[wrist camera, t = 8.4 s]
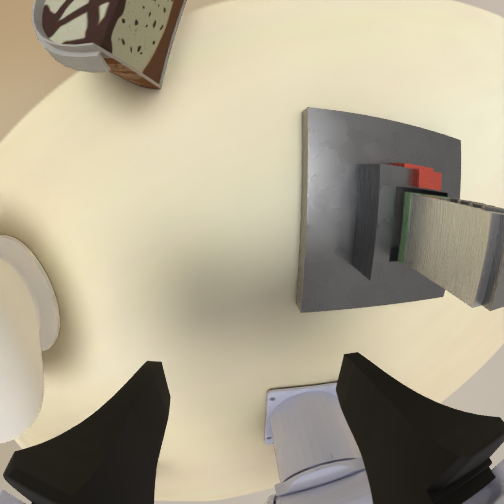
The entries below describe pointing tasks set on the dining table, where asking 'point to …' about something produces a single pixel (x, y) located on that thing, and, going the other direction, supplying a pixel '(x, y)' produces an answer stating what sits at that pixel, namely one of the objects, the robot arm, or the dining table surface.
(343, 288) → the base
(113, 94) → the dining table surface
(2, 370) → the decorative vase
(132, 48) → the food container
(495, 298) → the block
